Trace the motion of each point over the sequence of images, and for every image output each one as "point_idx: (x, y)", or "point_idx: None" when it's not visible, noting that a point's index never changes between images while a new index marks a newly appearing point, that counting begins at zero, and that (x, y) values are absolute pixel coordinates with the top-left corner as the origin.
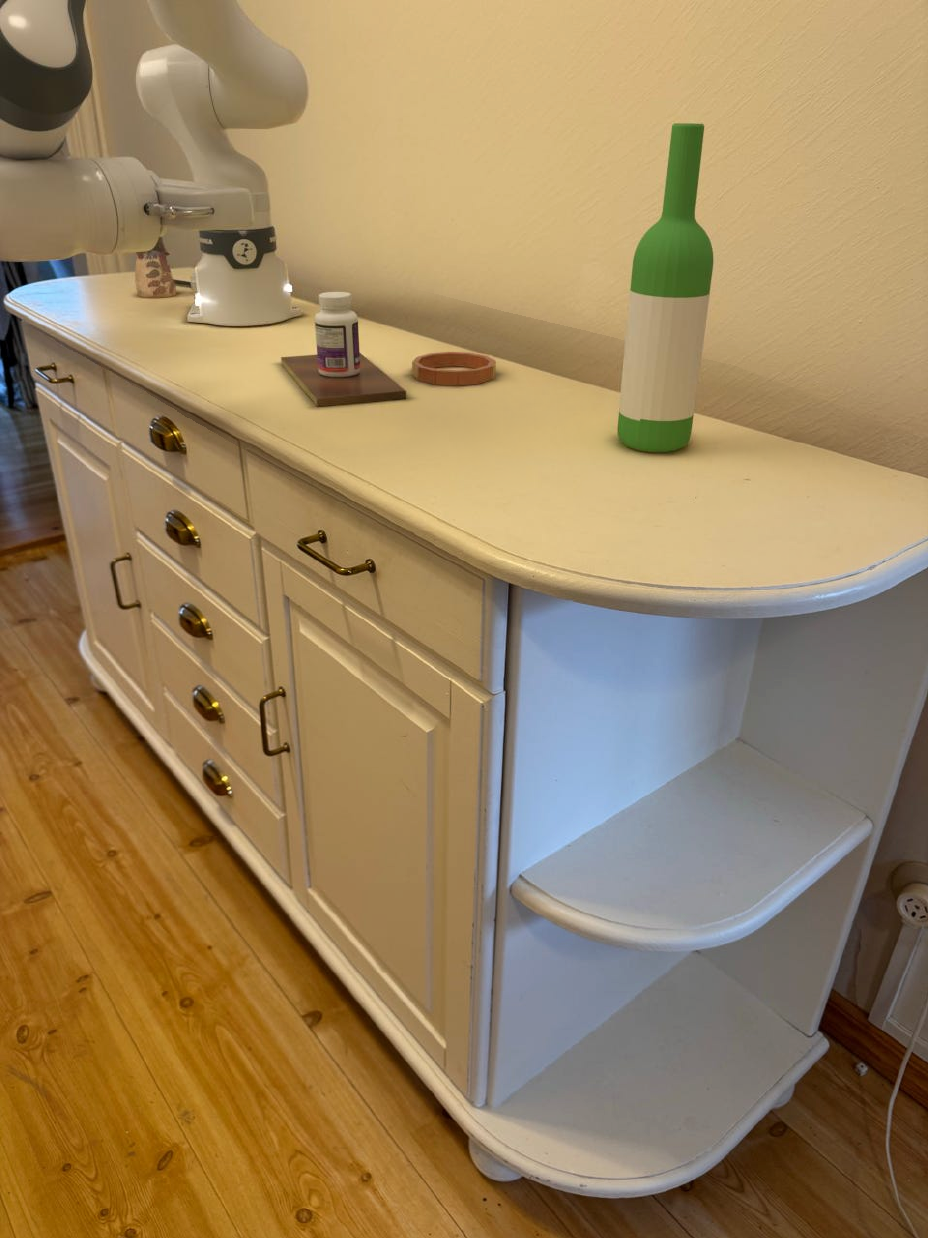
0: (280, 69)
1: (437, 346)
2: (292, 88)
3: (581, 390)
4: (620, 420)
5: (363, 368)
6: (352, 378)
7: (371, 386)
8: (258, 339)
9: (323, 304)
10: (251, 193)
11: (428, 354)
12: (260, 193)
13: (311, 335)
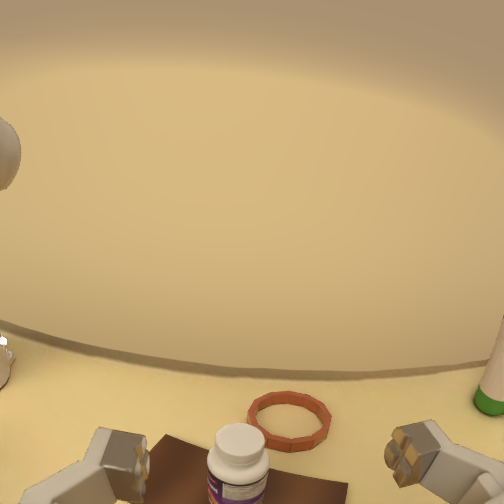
0: (6, 138)
1: (188, 381)
2: (13, 156)
3: (377, 388)
4: (500, 405)
5: None
6: (268, 500)
7: (314, 501)
8: (19, 427)
9: (243, 462)
10: (468, 451)
11: (251, 414)
12: (443, 432)
13: (58, 400)
